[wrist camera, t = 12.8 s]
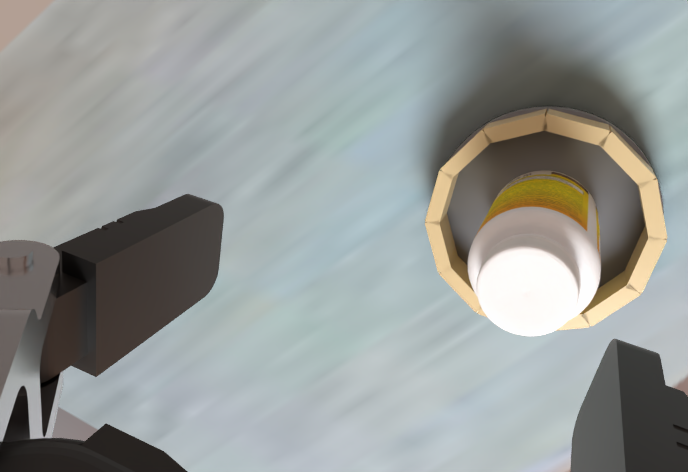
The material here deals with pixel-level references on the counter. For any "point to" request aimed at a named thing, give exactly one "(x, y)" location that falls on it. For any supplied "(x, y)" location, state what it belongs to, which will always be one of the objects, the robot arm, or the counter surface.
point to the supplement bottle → (537, 254)
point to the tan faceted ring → (572, 160)
